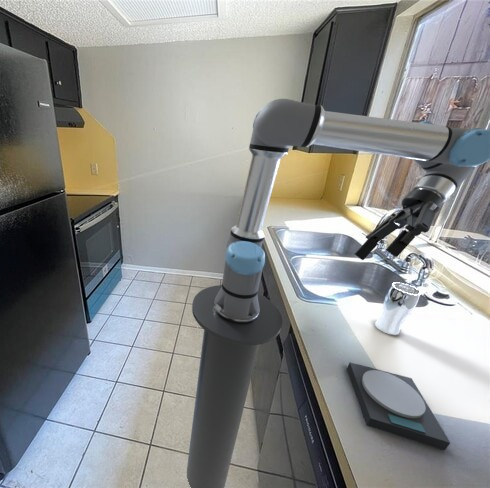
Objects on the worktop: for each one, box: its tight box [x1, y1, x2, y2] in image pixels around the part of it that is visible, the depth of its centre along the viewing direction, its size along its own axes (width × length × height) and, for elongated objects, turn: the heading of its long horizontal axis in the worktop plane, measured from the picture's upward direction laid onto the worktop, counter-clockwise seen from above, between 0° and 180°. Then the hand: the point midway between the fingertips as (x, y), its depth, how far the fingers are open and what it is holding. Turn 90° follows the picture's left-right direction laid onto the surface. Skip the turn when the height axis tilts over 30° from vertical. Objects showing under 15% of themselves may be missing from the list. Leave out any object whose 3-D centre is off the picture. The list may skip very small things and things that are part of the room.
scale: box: [346, 361, 451, 451], centre depth 58 cm, size 15×13×3 cm
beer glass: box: [374, 282, 422, 336], centre depth 78 cm, size 7×7×15 cm
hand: (373, 255), depth 70 cm, fingers open, 13 cm apart
